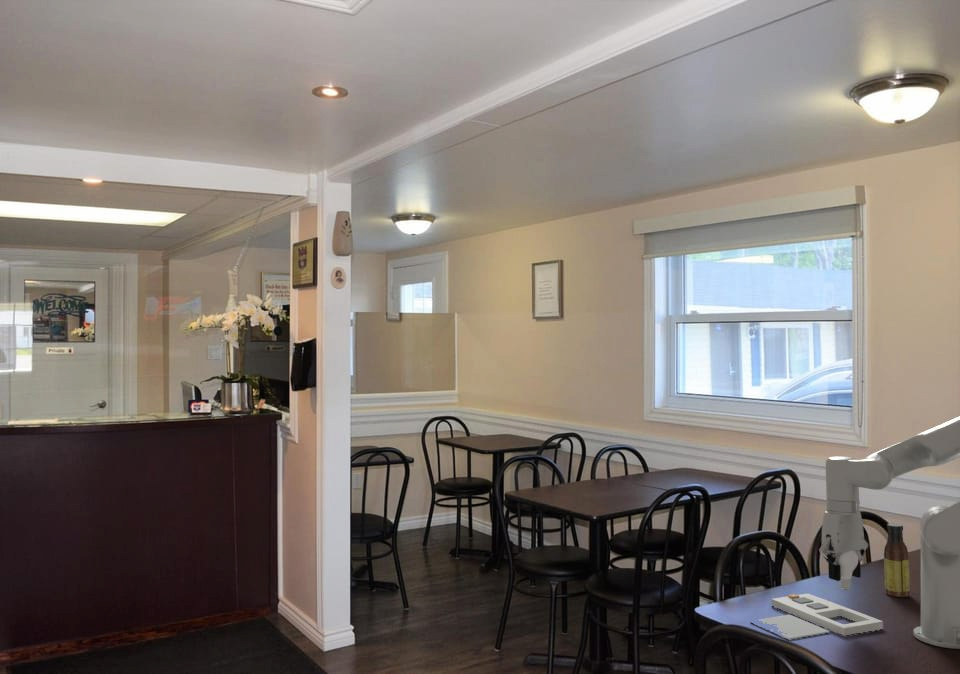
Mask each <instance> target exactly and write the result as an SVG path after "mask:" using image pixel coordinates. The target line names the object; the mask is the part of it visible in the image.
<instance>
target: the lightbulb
mask: <svg viewBox="0 0 960 674" xmlns="http://www.w3.org/2000/svg"><path fill="white" fill-rule="evenodd" d="M833 557H835V554H833ZM857 564H858V556H857V554H856V552H855V551H848V552H845V553H841V555H840V559H839V562H838V565H840V573H841V580H840V581H838V585H839V586H838V587H839V588H840V589H842V590H843V591H848V590H851V588H852V587H851V585H852V584H851V583H852V581H851V580H852V578H853V576H852V573H853V571H854V569H855V568H856V566H857Z"/></svg>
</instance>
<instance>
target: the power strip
mask: <svg viewBox="0 0 960 674" xmlns="http://www.w3.org/2000/svg"><path fill="white" fill-rule="evenodd" d="M770 600H771V604H770V605H773V606H776V607H777V608H780V609H781V610H784V611H786V612H789V613H791V614H794V615H796V616H798V617H800V618H799V619H801V618H803V619H805V620H808V621H810V622H813V623H815V624H817V625H816V626H818V625H819V626H818V627H820V626H822V627H825V628H827V629H829V630H828V631H830V630H832V631H834V632H837V633H839V634H842V635H850V634H855V633H861V634H864V633H863V632H866V633H869V632H868V631H872V632H875V630H877V631H881V630H880V629H884V621H883V620H880V619H878V618H875V617H872V616H870V615H867V614H865V613H862V612H860V611H857V610H854V609H851V608H848V607H846V606H843V605H840V604H837V603H835V602H832V601H830V600H827V599H825V598H822V597H819V596H816V595H813V594H811V593H801V594H796V593H793V594H788V595H787V596H781V597H775V598H771V599H770ZM777 608H776V609H777ZM781 610H780V611H781ZM784 611H783V612H784ZM786 612H785V613H786ZM789 613H788V614H789ZM791 614H790V615H791ZM796 616H795V617H796ZM837 616H842V618H844V617H845V618H844V619H846V618H847V619H846V620H849V619H850V620H849V621H851V620H853V621H852V622H850V623H845V624H843V623H840V622H839V621H836V620H833V619H832V618H830V617H835V618H838V617H837ZM798 617H797V618H798ZM803 619H802V620H803ZM805 620H804V621H805ZM808 621H807V622H808ZM854 621H855V622H854ZM810 622H809V623H810ZM813 623H812V624H813ZM815 624H814V625H815ZM822 627H821V628H822ZM825 628H824V629H825ZM827 629H826V630H827ZM832 631H831V632H832ZM834 632H833V633H834ZM837 633H836V634H837ZM839 634H838V635H839ZM842 635H841V636H842ZM855 635H856V634H855ZM850 636H851V635H850Z"/></svg>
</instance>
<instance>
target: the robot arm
mask: <svg viewBox="0 0 960 674" xmlns="http://www.w3.org/2000/svg"><path fill="white" fill-rule="evenodd" d="M958 458H960V416H957V417H955V418H953V419H951V420H950V419H949V421H946V422H944V423H942V424H940V425H937V426H935V427H932V428H929V429H927V430H925V431H923V432H920V433H918V434H916V435H914V436H912V437H910V438H907V439H904V440H902V441H901V442H898V443H895V444H893V445H890V446H888V447H885V448H884V449H881V450H879V451H877V452H874V453H872V454H870V455H868V456H866V457H864V459H858V460H857V459H856V458H855V457H850V456H842V455H841V456H840V455H837V456H830V457H828V458H827V459H826V460H825V487H826V489H825V490H826V492H825V493H826V511H824V512H823V513H824V514H823V519H822V523H821V524H822V525H821V546H820V548H819V549H818V550H819V551H818V552H819V553H820V555H822V556H823V558H824V559H825V562H826V563H827V564H828V567H827V569H828V578H829V579H830V580H833V581H836V582H839V581H840V580H841V573H840V565H838V562H839V559H840V555H841V553H845V552H848V551H855V552H856V554H857V556H858V564H857V566H856V568H855V569H854V571H853V573H852V577H855V578H861V577H862V576H861V573H862V572H861V571H862V570H861V562H862V561H863V556H864V554H865V551H866V550H867V549H868V547H869V543H868V542H867V541H866V539H865V535H864V526H863V524H864V523H863V518H862V513H861V511H860V504H861V502H860V488H863V489H867V490H868V489H869V490H874V491H876V490H877V491H879V490H884V489H886V488H887V487H888V486H890V485H891V483H892V482H893V479H896V478H898V477H900V476H903V475H905V474H907V473H910V472H912V471H913V472H914V471H915V470H918V469H922V468H927V467H928V468H929V467H937V466H941V465H945V464H948V463H949V462H952V461H954V460H957V459H958ZM919 538H920V539H919V540H920V626H916V627H914V628H913V633H912V634H913V636H914V637H915V638H916V639H917V640H919V641H921V642H923V643H926V644H929V645H931V646H935V647H940V648H945V649H946V648H947V649H954V650H960V500H958V501H957V502H955V503H954V504H952V505H950V506H946V505H936V506H932V507H929V508H928V509H927V510H926V511H925V512H924V513H923V514H922V515H921V518H920V523H919ZM833 554H835V557H833Z"/></svg>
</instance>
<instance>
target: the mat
mask: <svg viewBox="0 0 960 674" xmlns="http://www.w3.org/2000/svg"><path fill="white" fill-rule="evenodd" d="M758 620H759V621H762V622H763V623H764V624H765V622H766V623H767V624H770V625H771V624H777V625H774V626H777V628H779V629H778V632H779V631H781V632H783V633H781V634H782V636H783V637H786V638H788V639H795V640H798V639H797V638H800V639H802V638H801V637H806V636H811V637H814V636H813V635H817V636H819V635H818V634H823V633H828V632H830V633H831V631H830V630H827V629H825V628H822V627H820V626H818V625H815V624H813V623H810V622H808V621H805V620H803V619H801V618H798V617H796V616H793V615H791V614H789V613H788V614H785V615H784V614H783V615H779V616H772V617H766V618H765V617H764V618H760V619H758ZM771 631H773V629H771ZM773 632H774V631H773ZM785 633H787V634H785ZM828 634H829V633H828ZM823 635H824V634H823ZM806 638H807V637H806Z"/></svg>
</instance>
